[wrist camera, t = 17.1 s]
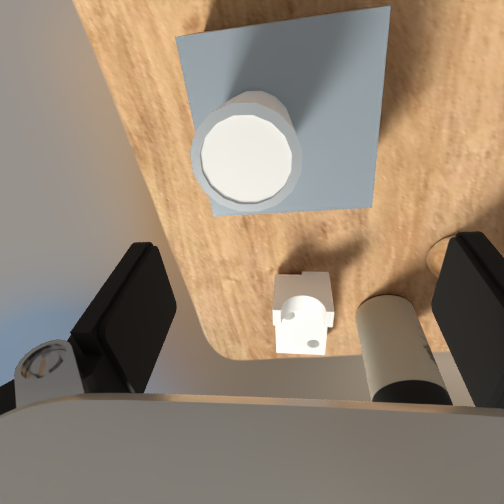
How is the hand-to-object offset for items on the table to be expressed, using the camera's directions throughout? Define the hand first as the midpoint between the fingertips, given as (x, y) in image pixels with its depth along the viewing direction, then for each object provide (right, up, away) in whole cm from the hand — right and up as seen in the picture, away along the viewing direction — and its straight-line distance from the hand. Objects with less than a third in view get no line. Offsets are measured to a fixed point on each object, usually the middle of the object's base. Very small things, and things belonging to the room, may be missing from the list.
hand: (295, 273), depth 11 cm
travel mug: (+17, -8, +36) cm, 41 cm away
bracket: (+6, -7, +38) cm, 39 cm away
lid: (+1, +10, +15) cm, 18 cm away
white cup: (-1, +10, +15) cm, 18 cm away
